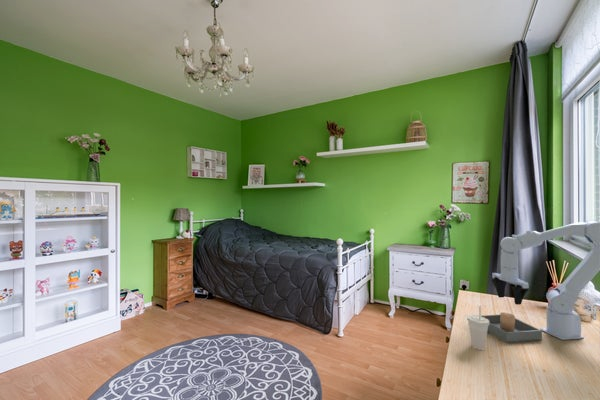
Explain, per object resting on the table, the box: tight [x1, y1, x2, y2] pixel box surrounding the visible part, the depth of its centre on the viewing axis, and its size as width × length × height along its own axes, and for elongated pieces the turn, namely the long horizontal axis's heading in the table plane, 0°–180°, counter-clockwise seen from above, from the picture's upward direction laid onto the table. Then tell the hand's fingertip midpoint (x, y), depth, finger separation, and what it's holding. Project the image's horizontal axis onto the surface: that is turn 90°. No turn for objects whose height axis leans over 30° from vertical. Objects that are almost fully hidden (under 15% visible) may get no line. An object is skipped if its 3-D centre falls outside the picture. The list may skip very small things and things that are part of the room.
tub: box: [481, 314, 543, 344], centre depth 103 cm, size 14×14×4 cm
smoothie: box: [466, 305, 489, 351], centre depth 92 cm, size 6×6×14 cm
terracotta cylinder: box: [499, 312, 516, 332], centre depth 103 cm, size 4×4×6 cm
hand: (509, 300), depth 110 cm, fingers open, 7 cm apart
